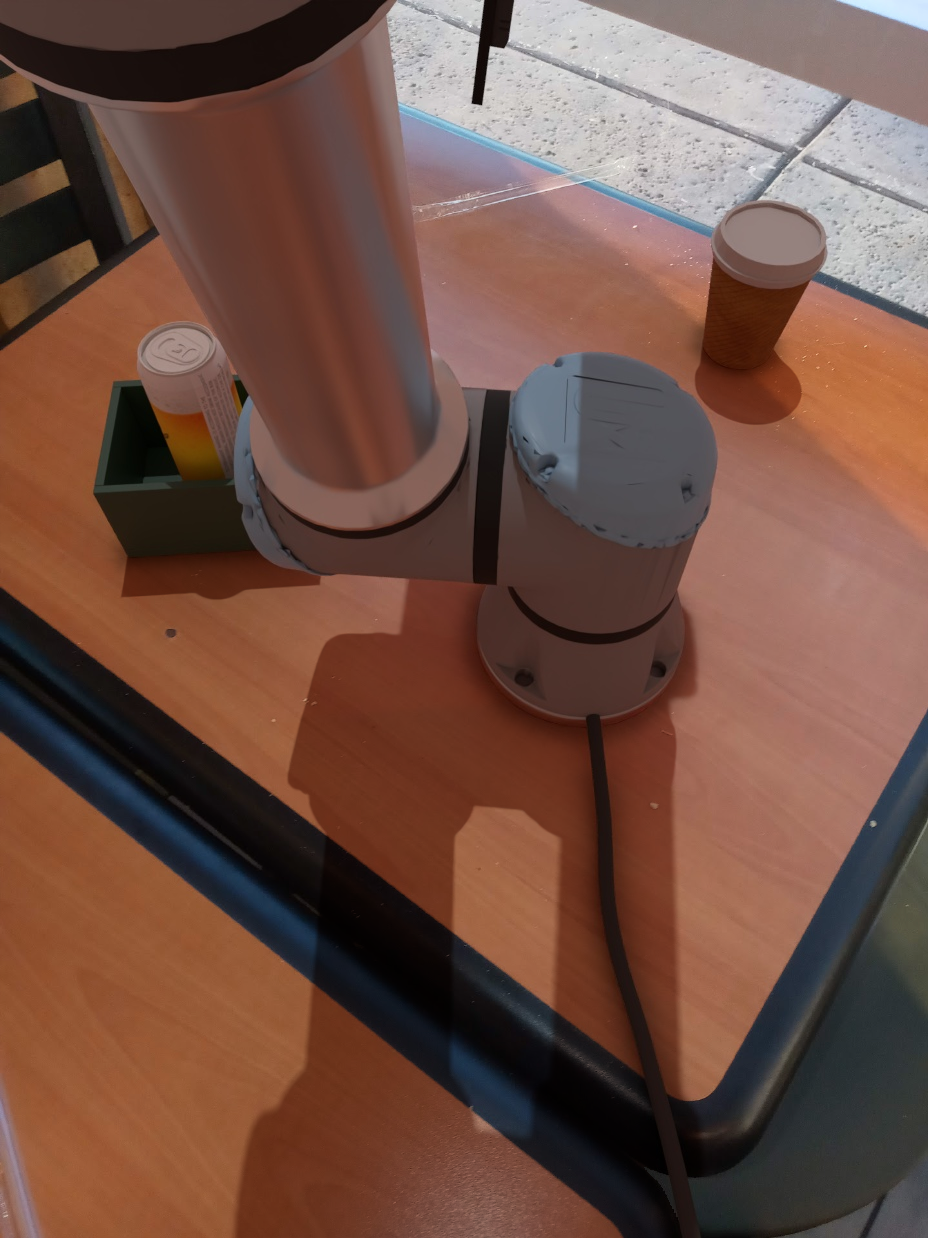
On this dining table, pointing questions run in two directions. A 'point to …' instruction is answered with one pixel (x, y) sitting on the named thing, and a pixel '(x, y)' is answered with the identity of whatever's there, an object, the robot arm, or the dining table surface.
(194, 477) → the beer can
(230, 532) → the open rectangular storage bin
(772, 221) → the disposable coffee cup
